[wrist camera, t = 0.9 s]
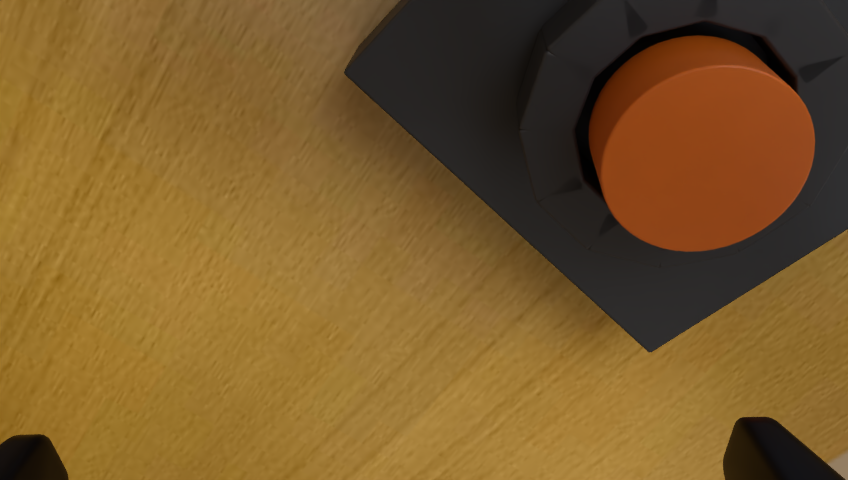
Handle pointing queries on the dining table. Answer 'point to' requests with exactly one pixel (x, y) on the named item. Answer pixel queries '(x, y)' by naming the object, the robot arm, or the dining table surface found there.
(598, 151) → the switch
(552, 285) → the dining table surface
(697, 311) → the switch base
